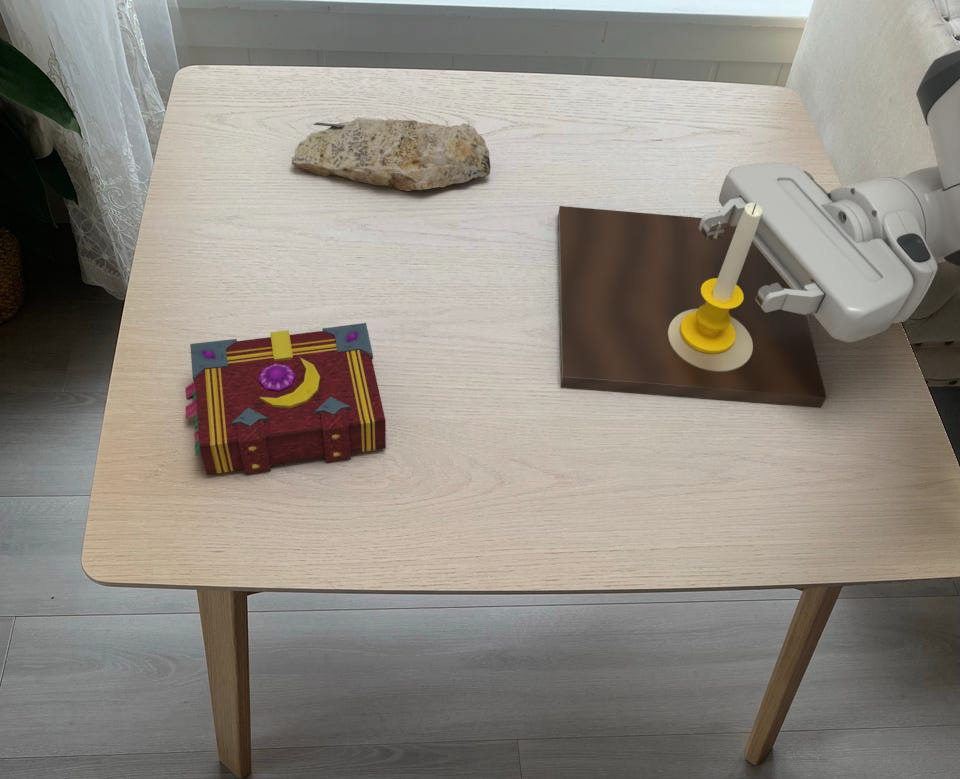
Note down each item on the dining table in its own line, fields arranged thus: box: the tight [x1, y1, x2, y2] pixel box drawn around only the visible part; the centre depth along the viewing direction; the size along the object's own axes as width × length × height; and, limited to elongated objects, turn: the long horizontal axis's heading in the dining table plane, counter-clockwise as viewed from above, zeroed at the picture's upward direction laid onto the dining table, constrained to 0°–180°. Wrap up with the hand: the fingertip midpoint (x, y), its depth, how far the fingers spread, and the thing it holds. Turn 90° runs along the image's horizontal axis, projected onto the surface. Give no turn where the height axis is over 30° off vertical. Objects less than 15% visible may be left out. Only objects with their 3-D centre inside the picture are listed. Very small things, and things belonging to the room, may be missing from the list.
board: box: [557, 205, 828, 408], centre depth 94 cm, size 24×24×2 cm
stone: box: [290, 117, 491, 192], centre depth 103 cm, size 21×6×10 cm
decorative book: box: [184, 322, 387, 476], centre depth 80 cm, size 11×16×5 cm
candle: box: [680, 203, 762, 354], centre depth 84 cm, size 5×5×16 cm
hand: (731, 263), depth 81 cm, fingers open, 8 cm apart
